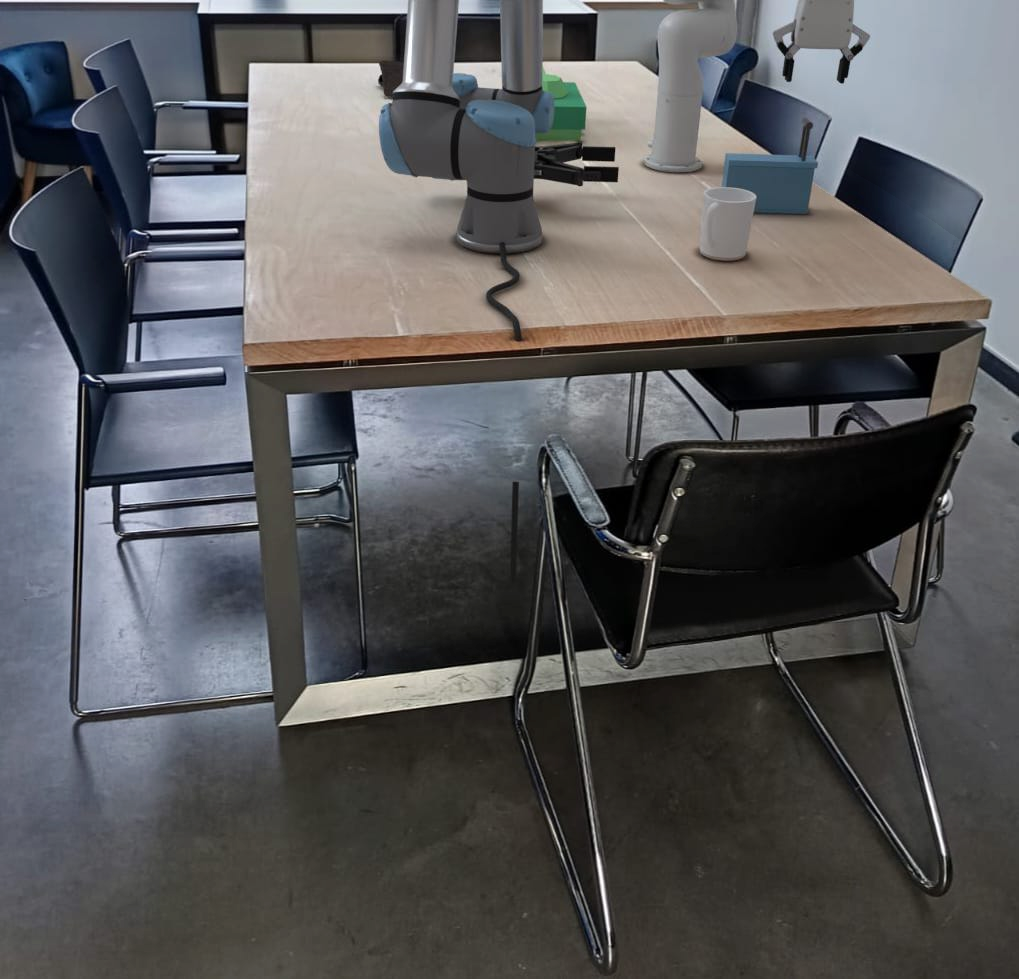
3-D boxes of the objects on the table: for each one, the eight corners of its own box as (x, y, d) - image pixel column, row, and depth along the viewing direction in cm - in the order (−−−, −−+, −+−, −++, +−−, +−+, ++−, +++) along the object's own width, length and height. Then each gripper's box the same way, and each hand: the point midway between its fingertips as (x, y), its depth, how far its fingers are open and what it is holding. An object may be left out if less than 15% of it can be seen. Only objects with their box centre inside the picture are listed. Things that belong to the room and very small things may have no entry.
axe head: (443, 87, 294) (392, 77, 287) (436, 115, 299) (385, 106, 292) (421, 62, 307) (371, 52, 300) (414, 89, 311) (365, 80, 304)
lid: (812, 161, 212) (819, 116, 208) (817, 168, 208) (824, 123, 204) (725, 158, 213) (730, 114, 208) (728, 165, 208) (734, 120, 204)
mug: (713, 241, 197) (720, 184, 192) (757, 252, 193) (765, 194, 187) (681, 256, 190) (687, 197, 185) (726, 268, 185) (733, 208, 180)
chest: (802, 206, 217) (809, 161, 212) (807, 214, 213) (814, 168, 208) (719, 203, 217) (724, 158, 213) (722, 211, 213) (728, 165, 208)
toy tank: (572, 60, 278) (587, 89, 248) (570, 110, 284) (584, 145, 254) (503, 59, 277) (509, 88, 247) (502, 109, 283) (508, 143, 253)
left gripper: (509, 162, 225) (612, 165, 224) (504, 200, 204) (618, 203, 204) (509, 125, 221) (615, 127, 220) (504, 160, 200) (621, 163, 199)
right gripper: (873, -22, 196) (856, 78, 205) (777, -24, 197) (763, 76, 206) (884, -16, 190) (865, 87, 199) (784, -19, 190) (770, 84, 199)
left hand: (616, 164), depth 212 cm, fingers open, 13 cm apart
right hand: (813, 81), depth 202 cm, fingers open, 9 cm apart
